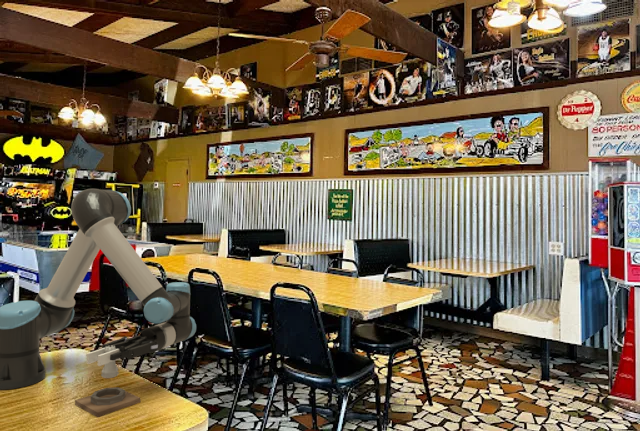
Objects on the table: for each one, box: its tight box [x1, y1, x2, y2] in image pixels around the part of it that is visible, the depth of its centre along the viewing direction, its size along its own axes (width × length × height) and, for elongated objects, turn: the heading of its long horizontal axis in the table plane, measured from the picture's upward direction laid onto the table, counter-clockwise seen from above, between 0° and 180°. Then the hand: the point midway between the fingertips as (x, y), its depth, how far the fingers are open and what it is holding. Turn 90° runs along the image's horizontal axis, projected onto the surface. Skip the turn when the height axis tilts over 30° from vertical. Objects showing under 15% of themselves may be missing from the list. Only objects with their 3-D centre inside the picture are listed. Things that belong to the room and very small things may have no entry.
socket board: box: [74, 387, 141, 418], centre depth 125 cm, size 12×12×3 cm
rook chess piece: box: [100, 345, 120, 379], centre depth 124 cm, size 4×4×8 cm
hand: (93, 359), depth 119 cm, fingers closed on rook chess piece, 3 cm apart
